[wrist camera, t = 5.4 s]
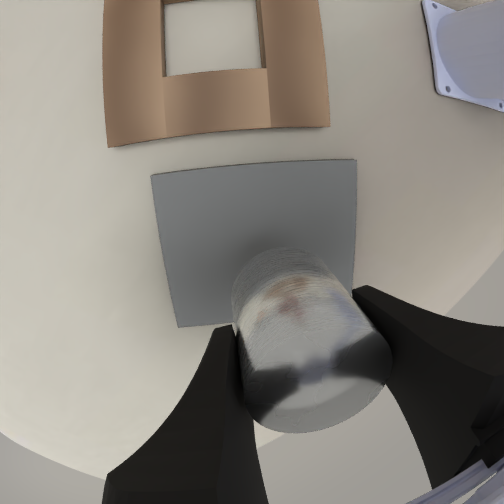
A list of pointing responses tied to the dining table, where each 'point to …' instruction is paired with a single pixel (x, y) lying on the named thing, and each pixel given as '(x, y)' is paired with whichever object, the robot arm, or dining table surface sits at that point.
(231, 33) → the dining table surface
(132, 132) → the bore plate
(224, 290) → the rubber mat
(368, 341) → the end cover
